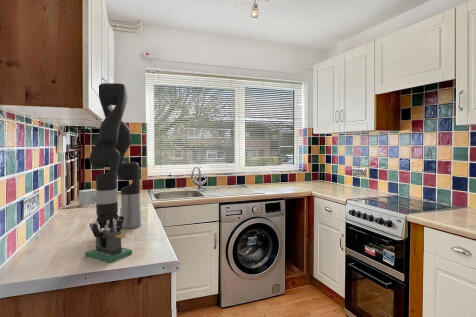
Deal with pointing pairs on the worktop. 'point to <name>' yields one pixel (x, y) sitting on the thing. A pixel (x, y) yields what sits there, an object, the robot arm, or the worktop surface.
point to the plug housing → (111, 240)
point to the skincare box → (87, 197)
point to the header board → (108, 254)
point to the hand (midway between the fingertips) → (108, 245)
